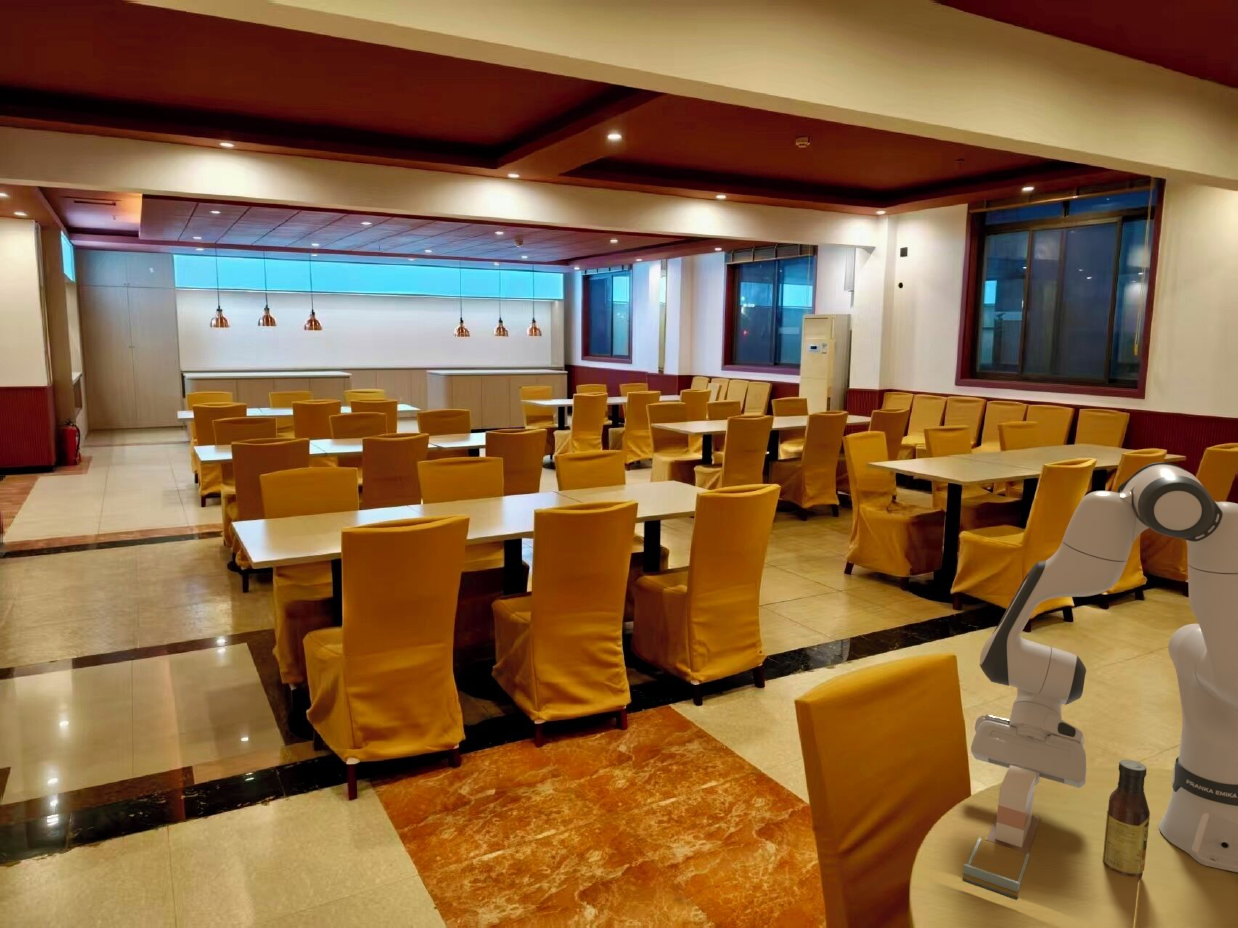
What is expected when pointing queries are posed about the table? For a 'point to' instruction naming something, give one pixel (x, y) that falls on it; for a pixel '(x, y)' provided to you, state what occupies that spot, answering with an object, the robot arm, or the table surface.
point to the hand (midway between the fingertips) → (1020, 793)
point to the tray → (993, 876)
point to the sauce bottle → (1127, 822)
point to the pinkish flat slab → (1027, 841)
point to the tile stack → (1015, 805)
